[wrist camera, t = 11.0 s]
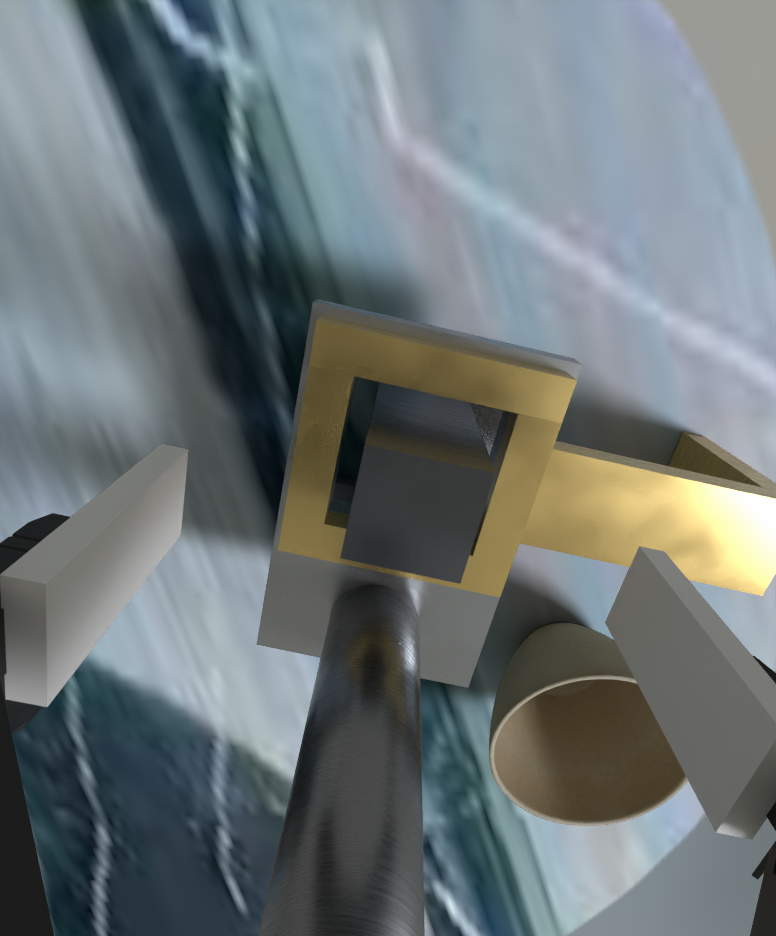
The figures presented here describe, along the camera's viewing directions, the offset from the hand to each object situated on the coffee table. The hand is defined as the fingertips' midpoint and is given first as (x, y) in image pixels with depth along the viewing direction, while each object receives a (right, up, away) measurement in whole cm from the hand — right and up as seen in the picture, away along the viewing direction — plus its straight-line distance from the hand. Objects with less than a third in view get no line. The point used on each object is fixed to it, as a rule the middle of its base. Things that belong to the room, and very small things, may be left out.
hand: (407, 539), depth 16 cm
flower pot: (+10, -9, +18) cm, 22 cm away
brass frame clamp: (+5, +1, +14) cm, 15 cm away
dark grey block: (+1, +5, +12) cm, 13 cm away
